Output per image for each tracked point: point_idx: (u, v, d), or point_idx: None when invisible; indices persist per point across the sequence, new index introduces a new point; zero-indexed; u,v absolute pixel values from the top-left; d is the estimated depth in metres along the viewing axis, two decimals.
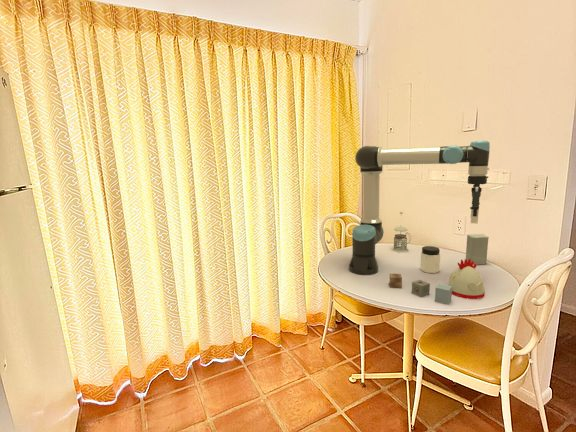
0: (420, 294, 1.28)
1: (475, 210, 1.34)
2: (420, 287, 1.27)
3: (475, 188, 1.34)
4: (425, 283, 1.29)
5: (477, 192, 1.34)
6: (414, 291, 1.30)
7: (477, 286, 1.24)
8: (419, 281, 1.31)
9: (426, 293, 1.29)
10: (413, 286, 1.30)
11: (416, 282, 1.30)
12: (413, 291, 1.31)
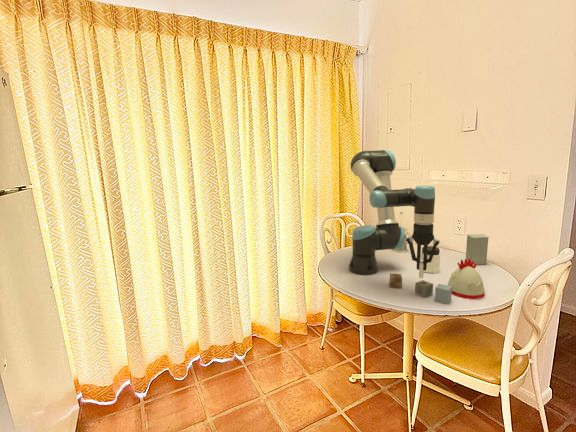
0: (423, 295, 1.27)
1: None
2: (423, 287, 1.27)
3: None
4: (428, 283, 1.28)
5: (409, 244, 1.29)
6: (417, 292, 1.30)
7: (477, 286, 1.24)
8: (422, 281, 1.31)
9: (429, 293, 1.28)
10: (416, 286, 1.30)
11: (419, 282, 1.30)
12: (416, 292, 1.30)
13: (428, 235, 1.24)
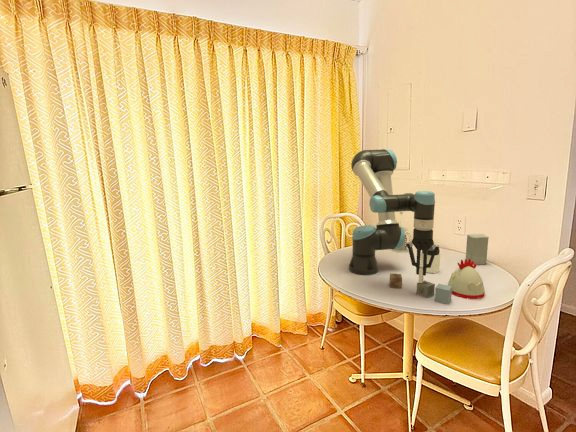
0: (425, 295, 1.27)
1: (416, 267, 1.29)
2: (425, 288, 1.26)
3: None
4: (430, 284, 1.28)
5: (409, 249, 1.30)
6: (419, 292, 1.29)
7: (477, 286, 1.24)
8: (424, 282, 1.30)
9: (431, 294, 1.28)
10: (418, 287, 1.29)
11: (421, 283, 1.29)
12: (418, 292, 1.30)
13: (428, 240, 1.24)
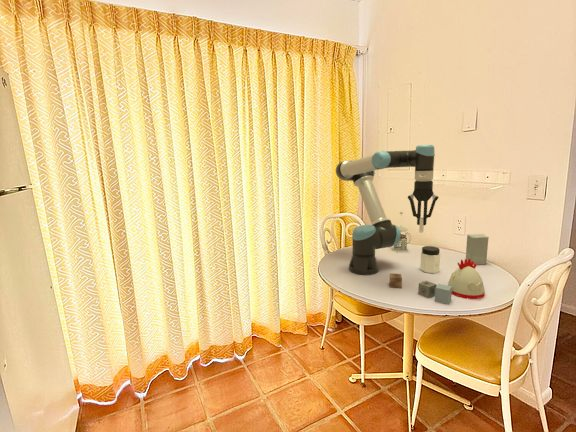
0: (427, 295, 1.26)
1: (417, 218, 1.38)
2: (427, 288, 1.26)
3: None
4: (432, 284, 1.28)
5: (410, 201, 1.38)
6: (421, 292, 1.29)
7: (477, 286, 1.24)
8: (425, 282, 1.30)
9: (433, 294, 1.27)
10: (420, 287, 1.29)
11: (423, 283, 1.29)
12: (420, 292, 1.29)
13: (428, 191, 1.33)
